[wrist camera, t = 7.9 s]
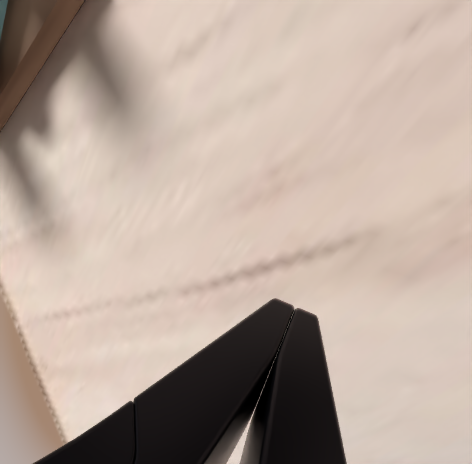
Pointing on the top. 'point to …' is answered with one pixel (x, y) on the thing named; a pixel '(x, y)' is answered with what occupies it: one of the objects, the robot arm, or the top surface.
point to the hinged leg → (2, 13)
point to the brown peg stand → (29, 44)
